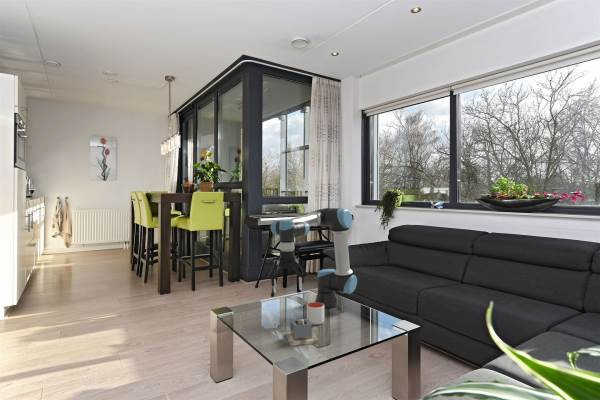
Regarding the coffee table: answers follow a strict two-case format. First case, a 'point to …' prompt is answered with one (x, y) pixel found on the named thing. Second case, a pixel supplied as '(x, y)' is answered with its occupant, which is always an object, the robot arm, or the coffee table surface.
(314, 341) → the shaft block
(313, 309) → the cup
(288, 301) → the coffee table surface
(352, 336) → the coffee table surface
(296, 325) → the collar
